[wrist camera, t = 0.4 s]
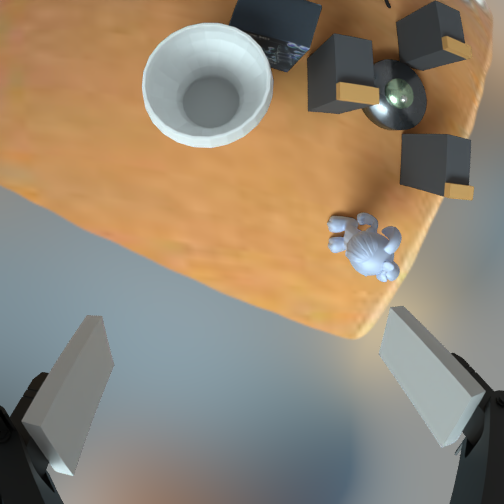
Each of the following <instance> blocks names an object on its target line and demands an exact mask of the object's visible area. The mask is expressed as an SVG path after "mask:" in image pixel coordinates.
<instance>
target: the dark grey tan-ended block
mask: <svg viewBox="0 0 504 504" xmlns="http://www.w3.org/2000/svg"><path fill="white" fill-rule="evenodd" d="M396 25H397V34H398V44H399V55H400V62H402V63H404V64H406V65H407V66H409V67H411V68H415V69H418V70H422V71H424V70H427V69H431V68H435V67H438V66H442V65H446V64H450V63H454V62H458V61H462V60H466V59H471V58H472V52H471V46H469V45H467V44H465V40H464V34H463V28H462V23H461V17H460V12H459V11H457V10H455V9H453V8H451V7H449V6H447V5H444V4H442V3H440V2H438V1H433V2H431V3H430V4H428V5H426V6H424V7H422V8H420V9H419V10H417V11H415V12H413V13H412V14H410V15H408V16H406V17H405V18H403V19H401V20H399V21H398V22H396Z"/></svg>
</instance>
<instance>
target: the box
mask: <svg viewBox="0 0 504 504" xmlns="http://www.w3.org/2000/svg"><path fill="white" fill-rule="evenodd" d="M321 9H322V6H321V5H320V4H316V3H312V2H309V1H306V0H238V1H237V4H236V7H235V9H234V12H233V15H232V18H231V20H230V23H229V26H232V27H236V28H237V29H239V30H241V31H243V32H245V33H246V34H248V35H250V36H251V37H252V38H253V39H254V40H255V41H256V42H257V43H258V44H259V45H260V46H261V48H262V50H263V52H264V53H265V55H266V57H267V59H268V61H269V64H270V67H271V68H274V69H278V70H281V71H284V72H288V71H289V70H290V69H291V68H292V67H293V66H294V64H296V62H297V61H298V60H299V59H300V58H301V57H302V56H303V55H304V54H305V53H306V52H307V51H308V50H309V49H310V46H311V42H312V39H313V35H314V32H315V29H316V25H317V22H318V19H319V15H320V12H321Z"/></svg>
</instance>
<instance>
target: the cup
mask: <svg viewBox="0 0 504 504" xmlns="http://www.w3.org/2000/svg"><path fill="white" fill-rule="evenodd" d="M142 91H143V98H144V103H145V108H146V110H147V112H148V114H149V116H150V118H151V120H152V122H153V123H154V124H155V125H156V126H157V127H158V128H159V129H160V131H161V132H162V133H163V134H165V135H166V136H168V137H170V138H171V139H173V140H175V141H176V142H178V143H182V144H185V145H189V146H192V147H207V148H213V147H218V146H222V145H227V144H230V143H232V142H234V141H236V140H238V139H240V138H242V137H244V136H245V135H246V134H248V133H249V132H250V131H251V130H252V129H254V128H255V127H256V126H257V125H258V124H259V122H260V121H261V119H262V118H263V117H264V115H265V114H266V112H267V110H268V107H269V105H270V102H271V99H272V96H273V76H272V72H271V67H270V64H269V61H268V59H267V57H266V55H265V53H264V52H263V50H262V48H261V46H260V45H259V44H258V43H257V42H256V41H255V40H254V39H253V38H252V37H251V36H250V35H248V34H246V33H245V32H243V31H241V30H239V29H237V28H236V27H232V26H229V25H225V24H221V23H200V24H195V25H191V26H186V27H184V28H182V29H180V30H178V31H176V32H174V33H172V34H171V35H169V36H168V37H167V38H166V39H164V40H163V41H162V42H161V43H159V45H158V46H157V47H156V49H155V50H154V51H153V53H152V54H151V55H150V57H149V59H148V62H147V64H146V67H145V69H144V72H143V82H142Z"/></svg>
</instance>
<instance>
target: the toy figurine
mask: <svg viewBox="0 0 504 504" xmlns="http://www.w3.org/2000/svg"><path fill="white" fill-rule="evenodd" d="M358 223H359V225H364V224H367V225H371V227H369V228H367V229H366V231H361V230H359V229H357V227H358ZM327 225H328V227H329V228H328V229H329V231H330V232H335V233H337V232H342V231H345V234H344V237H332V238H330V239H329V244H328V247H329V249H330V250H331V252H333V253H338V252H341V251H344V250H346V252H345V253H346V256H347V258H348V259H349V260H350V262H351V264H352V266H353V267H354V269H355V270H356V271H358V272H359V273H361V274H363V275H365V276H367V275H376V277H377V279H378V280H380V281H382V282H386V281H387V279H389V280H390V281H393V280H395V279H396V278H397V277H398V275H399V272H400V269H399V266H398V265H397V264H396V263H395V262H394V261H393V260H394V252H395V251H396V250H397V249H398V247H399V245H400V243H401V234H400V232H399V230H398V229H397V228H396V227H393V226H389V227H386V228H384V229H383V230H382V233H383V234H384V235H385V236H387V237H388V239H389V240H388V239H387V238H386V237H384V236H382V235H380V234H378V233H377V228H378V221H377V219H376V218H375V217H373V216H372V215H370V214H368V213H363V212H362V213H359V214H358V215H357V220H356V219H354V218H350V217H344V216H331V217H330V219H329V221H328V222H327Z"/></svg>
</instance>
